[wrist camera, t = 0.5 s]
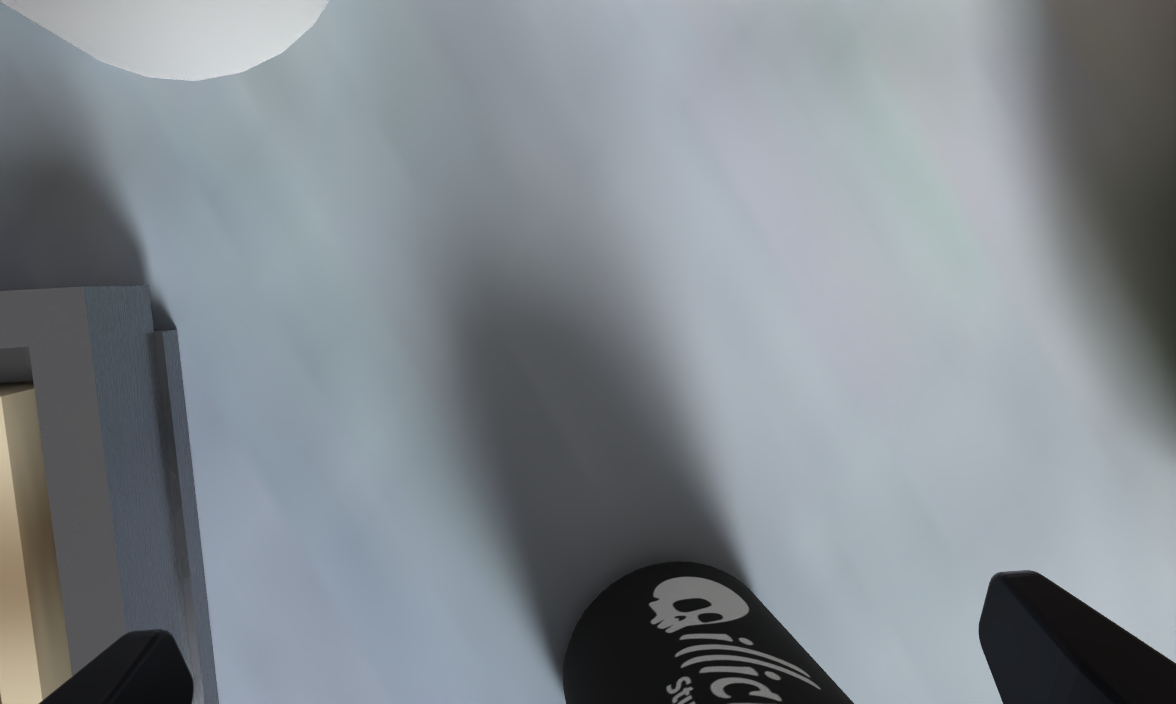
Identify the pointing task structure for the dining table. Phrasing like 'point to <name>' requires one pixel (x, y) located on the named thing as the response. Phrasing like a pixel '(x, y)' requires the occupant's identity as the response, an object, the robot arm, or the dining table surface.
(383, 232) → the dining table surface
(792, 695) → the beverage can
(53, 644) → the box
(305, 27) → the white stepped block
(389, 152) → the dining table surface
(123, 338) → the bay
